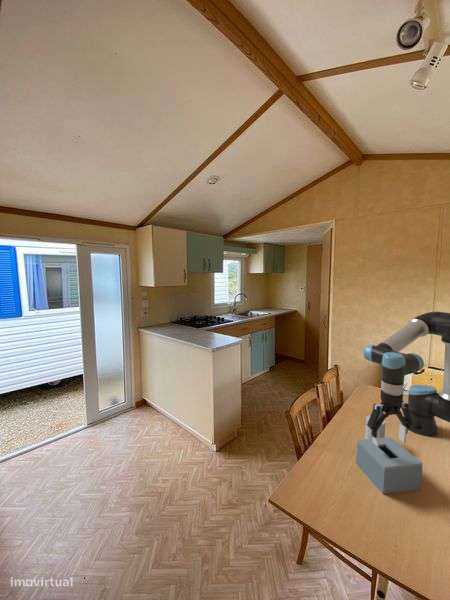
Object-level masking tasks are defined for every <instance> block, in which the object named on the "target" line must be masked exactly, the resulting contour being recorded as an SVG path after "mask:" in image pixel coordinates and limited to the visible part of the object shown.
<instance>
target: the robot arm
mask: <svg viewBox="0 0 450 600" xmlns="http://www.w3.org/2000/svg"><path fill="white" fill-rule="evenodd" d="M427 335H436V336H440V337H441V340H440V341H441V342H442V343H443V344H444V364H443V379H442V380H443V381H442V390H440V391H439V392H438V390H437V388H436V387H434V386H432V385H431V386H430V385H426V384H413V385H410V386H409V388H408V397H407V399H408V400H407V402H405V401H404V388H405V387H404V385H405V384H404V383H405V376H407V375H410V374H415V373H416V374H417V373H418V372H420V371H421V370H423V369H424V367H425V361H424V359H423V358H422V356H421V355H420V354H417V353H415V352H414V353H412V352H411V353H404V352H403V353H402V352H401V351H402V350H404V349H405V348H406V347H408V346H409V345H410V344H412V343H413V342H415V341H416V340H418V339H419V338H421V337H425V336H427ZM362 353H363V358H364V359H365V360H367V361H369V362H372V363H374V364H377V365H379V366H381V384H380V401H381V402H380V404H377V403H373V407H372V408H373V409H372V411H371V414H370V415H371V416H370V418H369V421H368V423H367V426H368V427H369V428H370V429H372V436H373V443H374V444H375V445H376V446H379V435H380V431H379V430H378V429H379V427H380V426H381V424H382V423H383V421H384V420H385V421H386V418H388V417H389V416H392V415H395V416H396V417H397V418H398V420H399V421H400V423H399V428H398V429H399V430H398V440H400V442H402V443H403V444H406V443H407V434H409V433H408V430H409V431H411V432H413V433H415V434H418V435H421V436H426V437H427V436H428V437H434V436H437V435H438V432H439V429H438V425H437V422H436V418H438V419H439V420H440V419H441V420H442V421H446V422H448V423H450V312H446V311H445V312H443V311H428V312H425V313H421V314H419V315H417V316H414V317H413V318H411V319H410V320H408V322H407V325H405V326H404V327H402V328H400V329H399V330H398V331H396V332H395V333H393V334H392V335H390V336H389V337H387V338H386V339H384V340H383V341H381V342H380V343H378V344H376V345H374V344H367V345H365V347H364V349H363V352H362ZM375 426H376V427H375Z"/></svg>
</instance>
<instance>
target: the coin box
mask: <svg viewBox="0 0 450 600" xmlns="http://www.w3.org/2000/svg"><path fill="white" fill-rule="evenodd" d="M356 440H357V439H356ZM355 464H356V465H357V466H358V467H359V469H360V470H361V471H362V472H363V473H364V474H365V475H366V476H367V478H368V479H369V480H370V481H371V482H372V484H373V485H374V486H375V487H376V488H377V490H379V492H380V493H381V494H382V495H388V494H395V493H404V492H411V491H421V489H422V488H421V487H422V477H423V464H424V463H423V462H422V461H421V460H419V459H418V458H417V457H416V456H414V455H413V454H412V453H411V452H410V451H408V450H407V449H406V448H405V447H403V446H402V445H401V444H400V443H399V442H397V441H396V440H395V439H393V438H392V437H391V436H388V437H387V436H386V437H384V438H379V446H376V445H375V444H374V443H373V439H358V440H357V444H356V463H355Z"/></svg>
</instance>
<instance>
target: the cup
mask: <svg viewBox="0 0 450 600" xmlns="http://www.w3.org/2000/svg"><path fill="white" fill-rule="evenodd" d="M370 416H371V414H368V415H366V417H365V418H366V419H365V420H366V421H365V432H364V434H365V436H364V438H365V439H373V436H372V429H370V428H369V427H368V426H367V423H368V421H369V418H370ZM375 427H376V426H375ZM378 430H379V431H380V435H379V438H386V437H385V434H386V419H385V420H384V421H383V423H382V424H381V426H380V427H379V429H378ZM365 439H364V440H365Z"/></svg>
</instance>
